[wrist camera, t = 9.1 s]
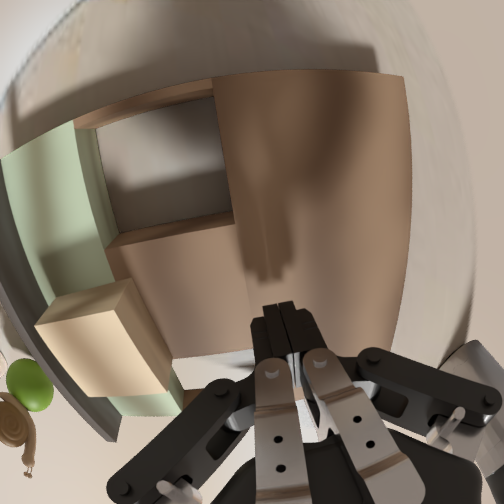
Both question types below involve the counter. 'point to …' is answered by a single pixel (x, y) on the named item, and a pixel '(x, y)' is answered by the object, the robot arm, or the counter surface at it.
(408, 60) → the counter surface
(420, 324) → the counter surface
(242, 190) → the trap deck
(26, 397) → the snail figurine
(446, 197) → the counter surface
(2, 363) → the beer glass
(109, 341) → the block
